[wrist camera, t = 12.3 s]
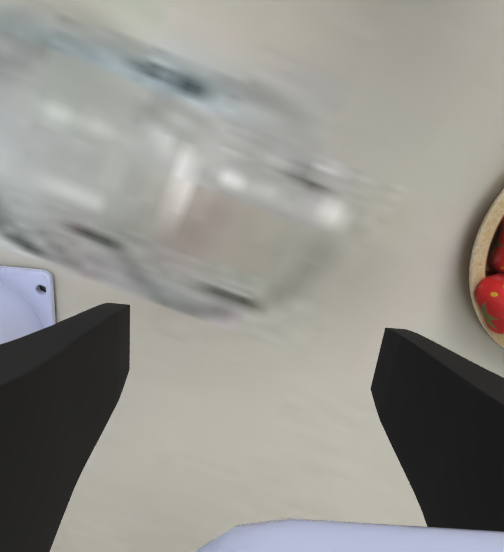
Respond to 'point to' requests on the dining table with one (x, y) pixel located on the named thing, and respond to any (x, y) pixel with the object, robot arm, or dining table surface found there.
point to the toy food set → (489, 271)
